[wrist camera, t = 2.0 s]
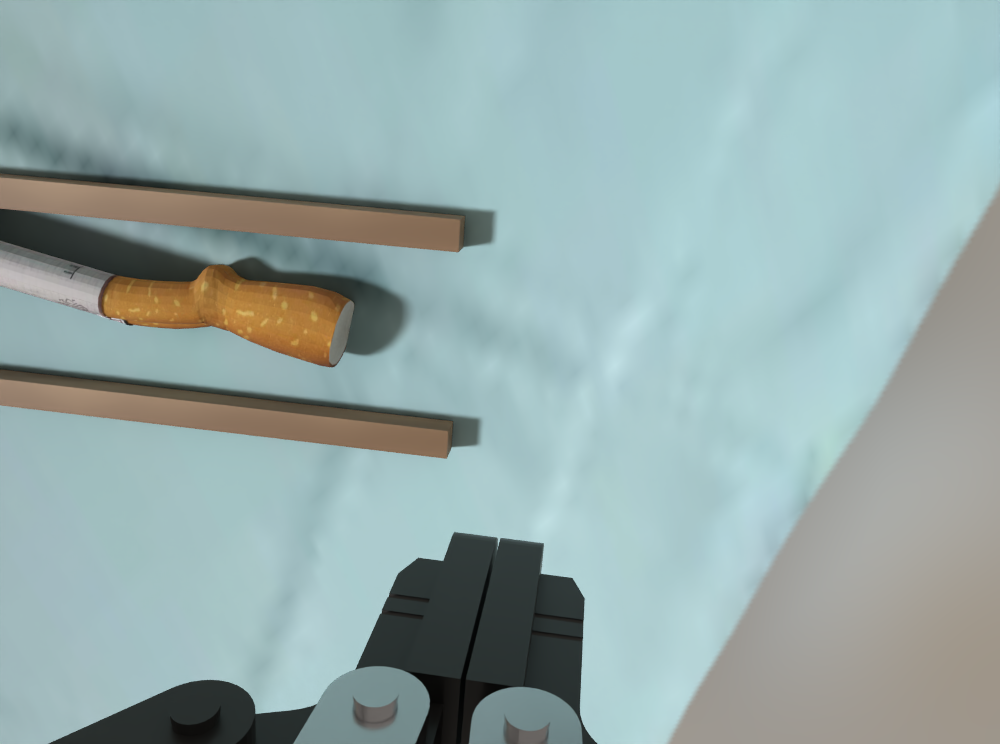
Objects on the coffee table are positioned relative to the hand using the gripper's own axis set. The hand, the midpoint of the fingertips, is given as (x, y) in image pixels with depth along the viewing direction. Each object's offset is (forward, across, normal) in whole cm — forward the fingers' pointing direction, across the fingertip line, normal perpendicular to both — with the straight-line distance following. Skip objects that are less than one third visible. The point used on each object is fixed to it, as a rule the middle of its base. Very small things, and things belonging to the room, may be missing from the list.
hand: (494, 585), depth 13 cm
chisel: (+14, +16, -1) cm, 22 cm away
